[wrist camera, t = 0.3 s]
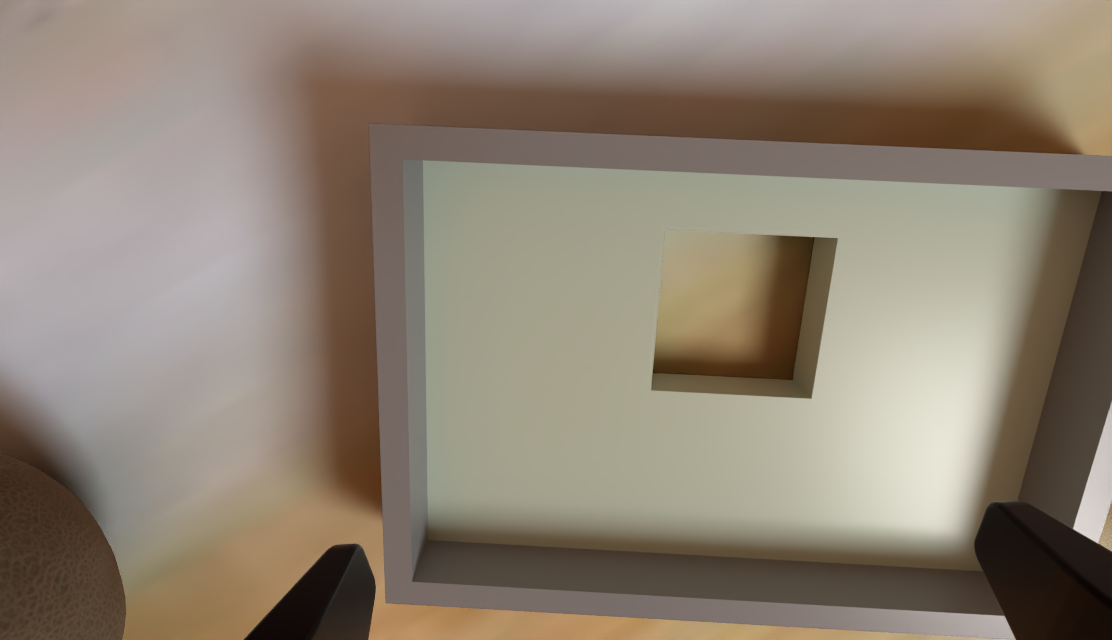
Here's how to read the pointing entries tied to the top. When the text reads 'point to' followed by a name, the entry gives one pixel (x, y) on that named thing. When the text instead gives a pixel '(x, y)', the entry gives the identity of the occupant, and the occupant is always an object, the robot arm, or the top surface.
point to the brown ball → (53, 563)
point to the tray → (732, 402)
